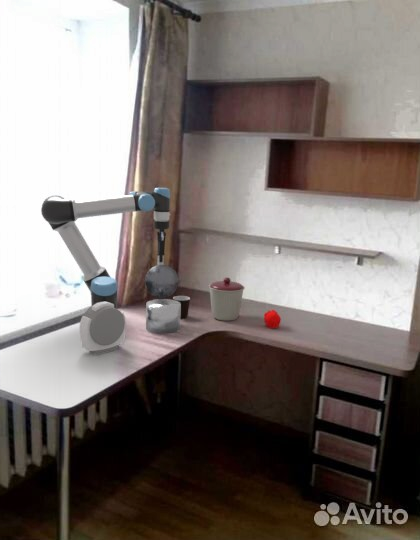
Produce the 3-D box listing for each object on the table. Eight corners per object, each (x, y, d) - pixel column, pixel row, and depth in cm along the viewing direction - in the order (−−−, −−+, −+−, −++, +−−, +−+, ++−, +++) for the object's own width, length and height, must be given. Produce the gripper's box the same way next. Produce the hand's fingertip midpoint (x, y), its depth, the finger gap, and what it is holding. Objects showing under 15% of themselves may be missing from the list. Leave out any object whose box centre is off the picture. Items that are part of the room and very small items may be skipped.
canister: (208, 311, 266) (209, 272, 261) (242, 313, 265) (244, 274, 261) (206, 322, 248) (208, 280, 244) (243, 324, 248) (245, 282, 243)
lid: (145, 264, 240) (144, 264, 243) (145, 298, 241) (144, 297, 244) (178, 264, 243) (177, 264, 246) (178, 297, 244) (177, 297, 247)
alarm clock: (116, 342, 216) (116, 297, 212) (127, 348, 210) (127, 301, 206) (78, 352, 204) (77, 304, 200) (89, 358, 198) (88, 309, 194)
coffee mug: (189, 320, 251) (189, 300, 248) (171, 319, 251) (172, 300, 249) (190, 313, 262) (191, 294, 260) (173, 312, 262) (174, 294, 260)
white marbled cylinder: (147, 334, 228) (147, 308, 225) (144, 322, 245) (145, 298, 242) (182, 333, 231) (182, 308, 228) (177, 321, 248) (178, 297, 245)
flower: (263, 319, 240) (261, 313, 248) (268, 333, 242) (266, 327, 249) (278, 313, 239) (276, 307, 247) (284, 327, 241) (281, 321, 249)
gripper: (171, 222, 238) (169, 271, 242) (167, 218, 250) (166, 265, 255) (155, 221, 236) (154, 271, 241) (152, 218, 248) (151, 265, 253)
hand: (160, 268), depth 248 cm, fingers closed
